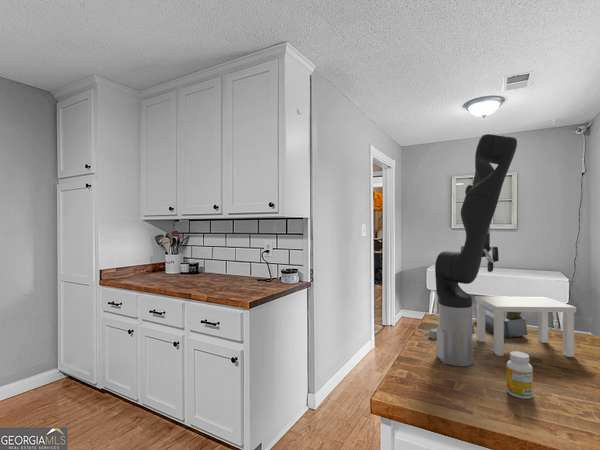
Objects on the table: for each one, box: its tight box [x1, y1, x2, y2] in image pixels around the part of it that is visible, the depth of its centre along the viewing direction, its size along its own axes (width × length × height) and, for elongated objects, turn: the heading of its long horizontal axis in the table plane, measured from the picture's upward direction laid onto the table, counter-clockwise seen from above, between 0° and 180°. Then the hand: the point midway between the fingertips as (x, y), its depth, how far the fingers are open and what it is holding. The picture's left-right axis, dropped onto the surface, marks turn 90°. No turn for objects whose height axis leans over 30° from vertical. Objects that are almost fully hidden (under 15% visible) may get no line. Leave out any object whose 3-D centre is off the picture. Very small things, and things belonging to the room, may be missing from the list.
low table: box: [474, 295, 577, 358], centre depth 111 cm, size 24×14×16 cm, turn 86°
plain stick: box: [428, 323, 475, 340], centre depth 125 cm, size 2×20×3 cm, turn 113°
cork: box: [505, 312, 523, 338], centre depth 124 cm, size 6×6×11 cm
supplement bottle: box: [506, 350, 534, 400], centre depth 82 cm, size 5×5×10 cm
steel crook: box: [473, 306, 529, 339], centre depth 130 cm, size 9×20×6 cm, turn 177°
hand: (479, 271), depth 137 cm, fingers open, 8 cm apart
